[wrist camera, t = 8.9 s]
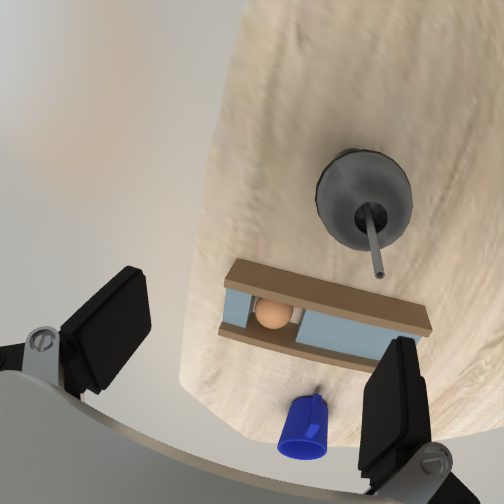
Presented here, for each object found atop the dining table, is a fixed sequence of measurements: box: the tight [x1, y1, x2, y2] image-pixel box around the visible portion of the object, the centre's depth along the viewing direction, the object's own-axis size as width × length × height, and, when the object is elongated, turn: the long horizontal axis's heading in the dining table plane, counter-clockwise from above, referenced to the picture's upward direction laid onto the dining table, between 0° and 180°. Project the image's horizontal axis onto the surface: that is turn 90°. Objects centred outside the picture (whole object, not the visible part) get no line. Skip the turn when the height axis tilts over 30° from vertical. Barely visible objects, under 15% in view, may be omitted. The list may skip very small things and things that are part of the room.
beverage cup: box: [315, 148, 413, 279], centre depth 22 cm, size 7×7×20 cm
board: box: [218, 258, 432, 373], centre depth 37 cm, size 26×9×5 cm, turn 81°
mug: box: [277, 394, 328, 460], centre depth 44 cm, size 8×12×10 cm
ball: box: [255, 297, 293, 329], centre depth 38 cm, size 5×5×5 cm
